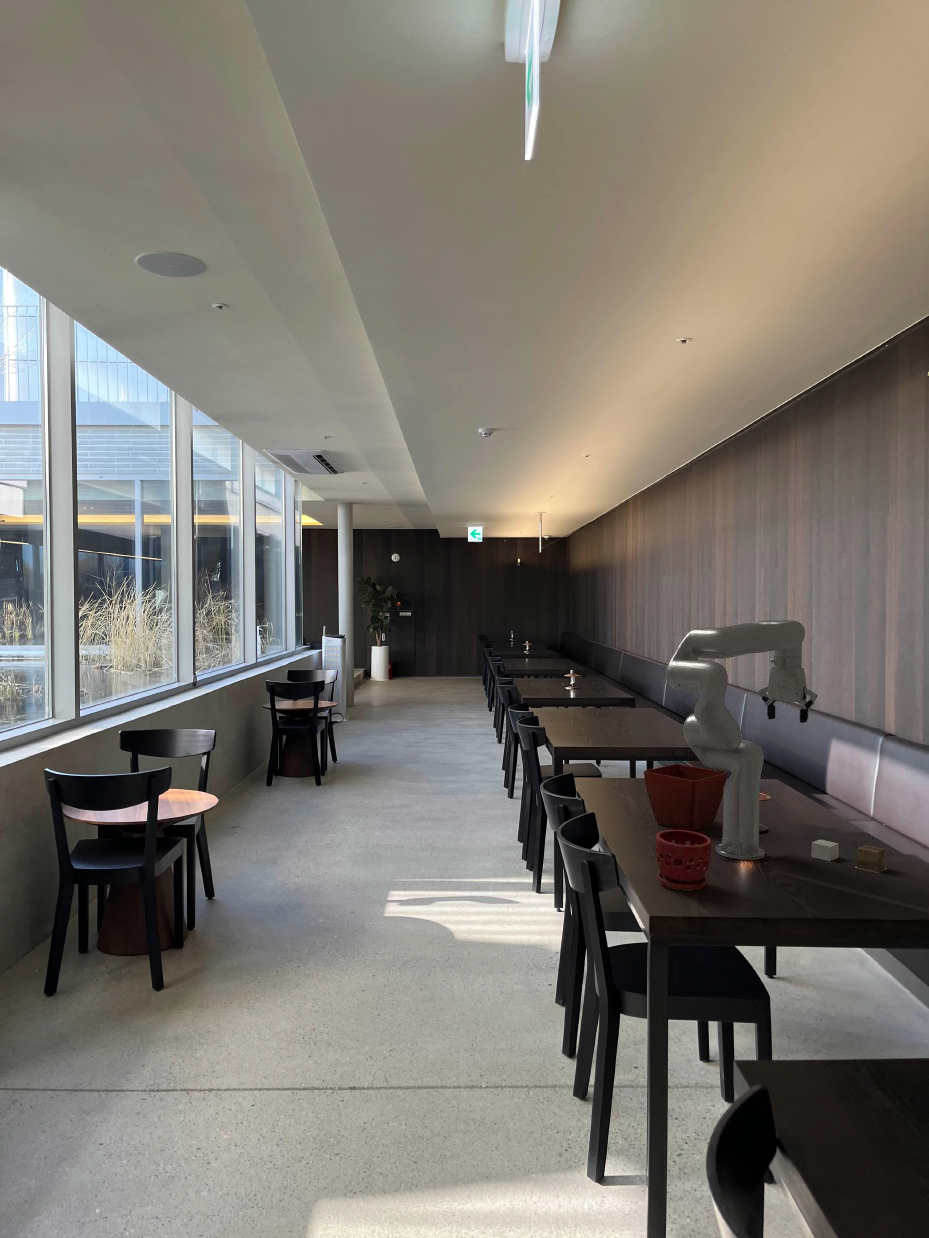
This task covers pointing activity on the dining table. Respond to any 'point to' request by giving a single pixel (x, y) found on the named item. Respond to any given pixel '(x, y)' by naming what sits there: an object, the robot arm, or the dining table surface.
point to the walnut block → (871, 858)
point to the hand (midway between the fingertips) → (787, 720)
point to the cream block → (825, 850)
